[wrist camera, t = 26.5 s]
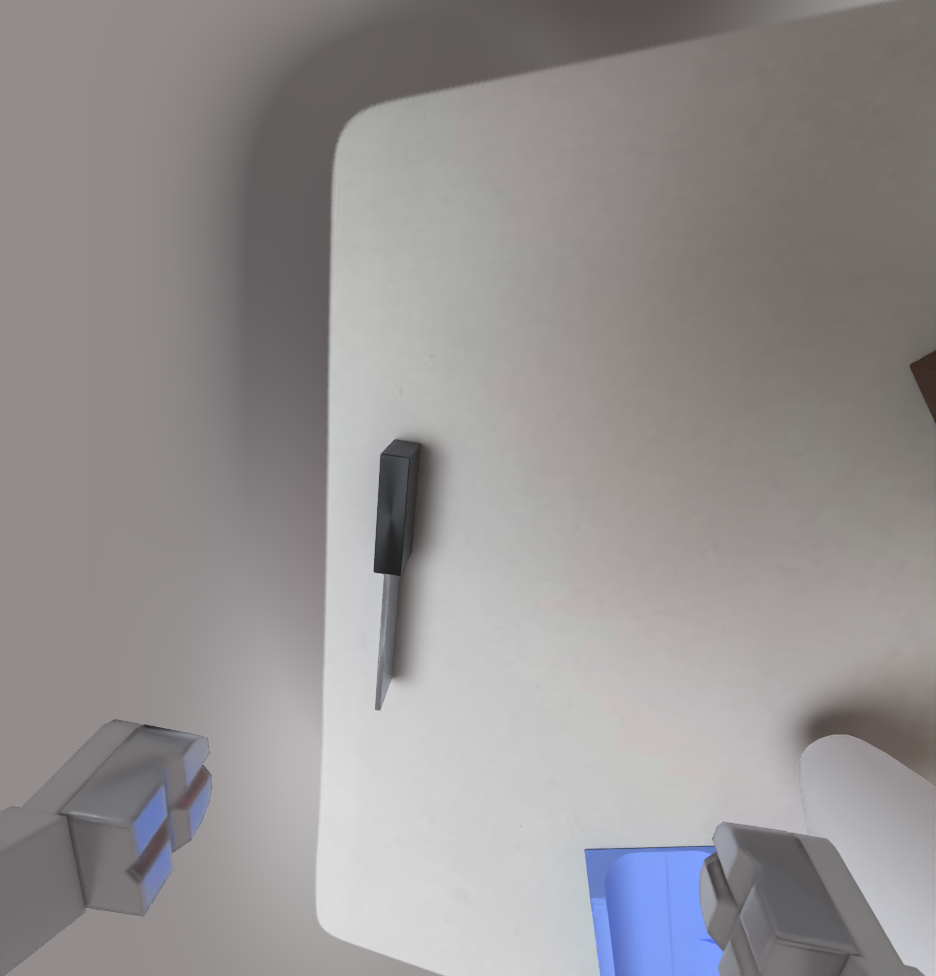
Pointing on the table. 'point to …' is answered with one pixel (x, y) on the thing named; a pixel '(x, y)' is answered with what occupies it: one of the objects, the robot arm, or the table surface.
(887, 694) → the table surface
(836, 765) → the cup
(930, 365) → the cake slice
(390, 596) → the knife
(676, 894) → the half pipe
